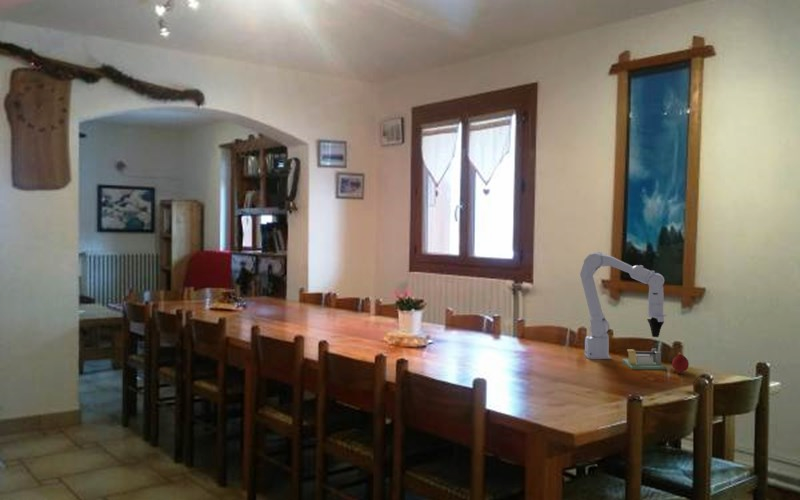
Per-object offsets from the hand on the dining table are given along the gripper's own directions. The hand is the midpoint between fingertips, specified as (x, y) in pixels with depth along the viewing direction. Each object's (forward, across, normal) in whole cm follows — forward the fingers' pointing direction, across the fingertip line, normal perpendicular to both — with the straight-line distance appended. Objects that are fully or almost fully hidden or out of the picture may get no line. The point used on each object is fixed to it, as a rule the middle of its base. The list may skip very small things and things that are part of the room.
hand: (655, 336), depth 273 cm
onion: (+11, -18, -4) cm, 22 cm away
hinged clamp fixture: (+10, -6, +6) cm, 13 cm away
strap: (+6, -6, +6) cm, 10 cm away
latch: (+9, -7, +11) cm, 16 cm away
